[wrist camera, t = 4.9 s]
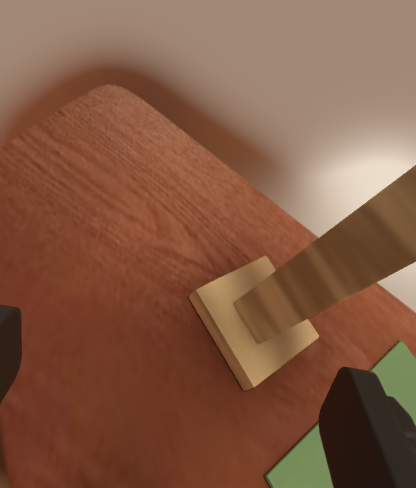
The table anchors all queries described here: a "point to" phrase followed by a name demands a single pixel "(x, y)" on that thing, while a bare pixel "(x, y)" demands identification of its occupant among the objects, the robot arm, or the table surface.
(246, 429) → the table surface
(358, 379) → the robot arm
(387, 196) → the stand
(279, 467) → the felt mat
